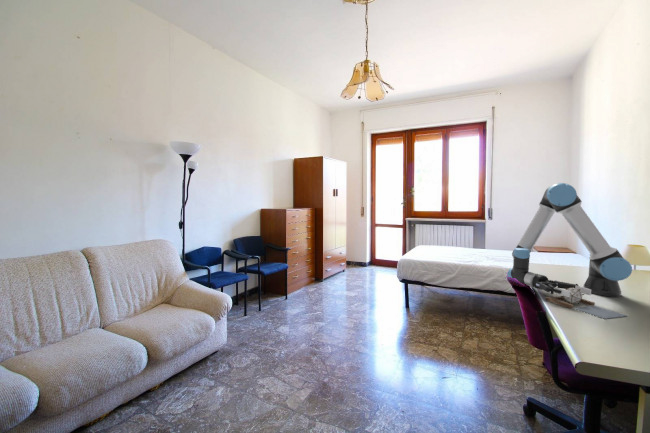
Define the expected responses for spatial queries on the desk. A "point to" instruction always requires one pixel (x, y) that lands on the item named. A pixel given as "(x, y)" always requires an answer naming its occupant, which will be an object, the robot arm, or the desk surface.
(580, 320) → the desk surface
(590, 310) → the mat
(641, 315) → the desk surface
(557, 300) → the open frame
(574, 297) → the game die
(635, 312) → the desk surface
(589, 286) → the robot arm
